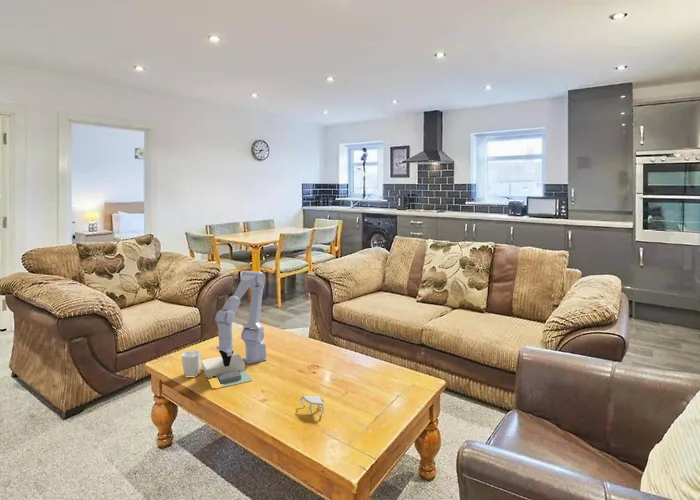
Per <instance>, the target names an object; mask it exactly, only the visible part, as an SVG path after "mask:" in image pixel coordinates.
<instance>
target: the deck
mask: <svg viewBox="0 0 700 500" xmlns="http://www.w3.org/2000/svg"><path fill="white" fill-rule="evenodd" d="M243 359H244V358H242V357H241V356H240V354H239V353H238V352H237V353H233V355H232V357H231V361H230V365H229V366H226V367H225V366H224V364H223V360H222V356H221V355H220V356H216V357H211V358H206V359H201V369H202V368H203V369H202V371H203V370H204V372H203V373H205V374H204V375H206V376H205V378H206V377H211V376H216V377H217V374H221V373H226V372H231V371H236V370H238V371H240V372H241V371H246V365H245V363H246V361H245V360H243ZM211 378H212V377H211Z"/></svg>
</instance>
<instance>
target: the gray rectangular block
mask: <svg viewBox="0 0 700 500" xmlns="http://www.w3.org/2000/svg"><path fill="white" fill-rule="evenodd" d="M216 377H217V378H218V380H219V382H220V384H224V383H228V382H233V381H237V380H241V374H240V373H239V371H238V370H236V371H231V372H226V373H221V374H217V376H216Z"/></svg>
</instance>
